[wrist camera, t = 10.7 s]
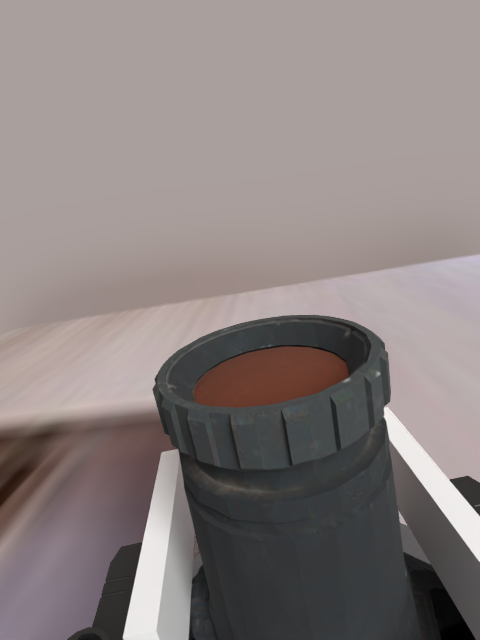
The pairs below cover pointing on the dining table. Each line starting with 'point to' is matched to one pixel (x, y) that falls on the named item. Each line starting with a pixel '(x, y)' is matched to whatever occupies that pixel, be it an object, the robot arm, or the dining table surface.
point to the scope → (295, 487)
